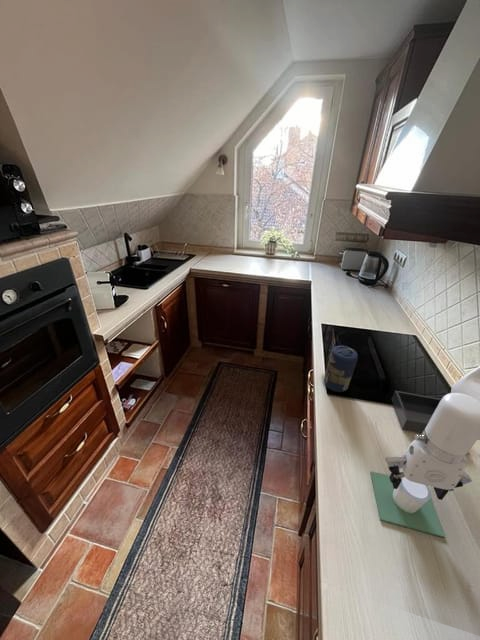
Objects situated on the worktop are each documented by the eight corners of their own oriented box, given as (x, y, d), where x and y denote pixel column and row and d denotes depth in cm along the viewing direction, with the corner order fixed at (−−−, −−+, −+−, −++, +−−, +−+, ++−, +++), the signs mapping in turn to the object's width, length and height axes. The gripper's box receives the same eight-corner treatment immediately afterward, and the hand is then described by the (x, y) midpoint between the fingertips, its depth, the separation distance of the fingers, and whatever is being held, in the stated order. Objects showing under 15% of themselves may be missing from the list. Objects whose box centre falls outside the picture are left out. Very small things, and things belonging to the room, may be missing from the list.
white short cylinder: (384, 492, 67) (392, 477, 63) (402, 482, 69) (411, 467, 66) (408, 521, 61) (418, 506, 58) (426, 508, 64) (437, 494, 60)
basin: (436, 408, 93) (442, 398, 91) (454, 440, 82) (461, 430, 80) (391, 399, 97) (395, 390, 94) (401, 429, 85) (406, 419, 83)
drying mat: (424, 485, 69) (425, 484, 69) (444, 538, 59) (445, 537, 59) (370, 472, 72) (370, 471, 72) (379, 520, 62) (380, 519, 62)
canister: (321, 376, 107) (330, 340, 98) (344, 378, 106) (355, 343, 97) (325, 392, 99) (334, 355, 90) (350, 395, 98) (362, 358, 89)
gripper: (403, 451, 53) (380, 494, 61) (501, 471, 49) (462, 515, 57) (393, 421, 59) (373, 464, 67) (480, 438, 55) (447, 481, 64)
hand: (414, 487), depth 62 cm, fingers open, 9 cm apart
